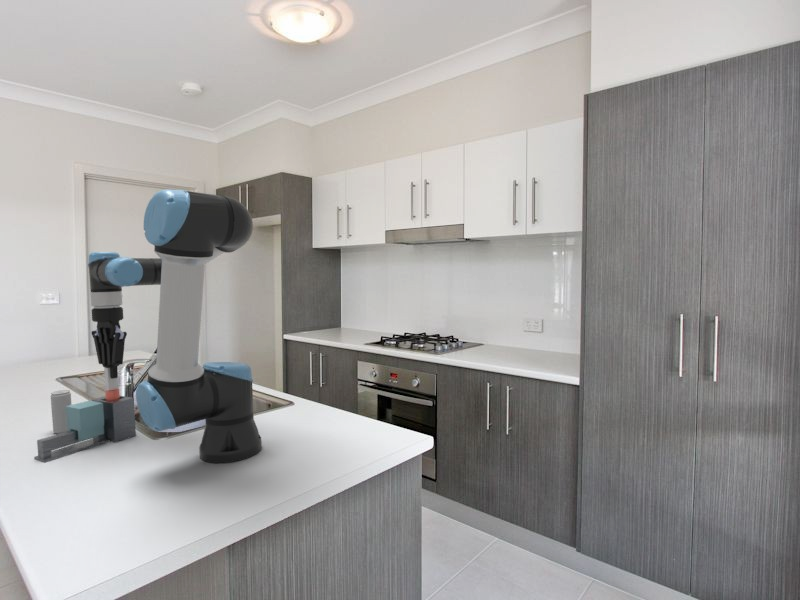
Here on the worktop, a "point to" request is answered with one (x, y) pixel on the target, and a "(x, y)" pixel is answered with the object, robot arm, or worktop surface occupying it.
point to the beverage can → (60, 410)
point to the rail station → (115, 429)
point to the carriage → (86, 419)
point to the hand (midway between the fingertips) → (112, 389)
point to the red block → (112, 395)
